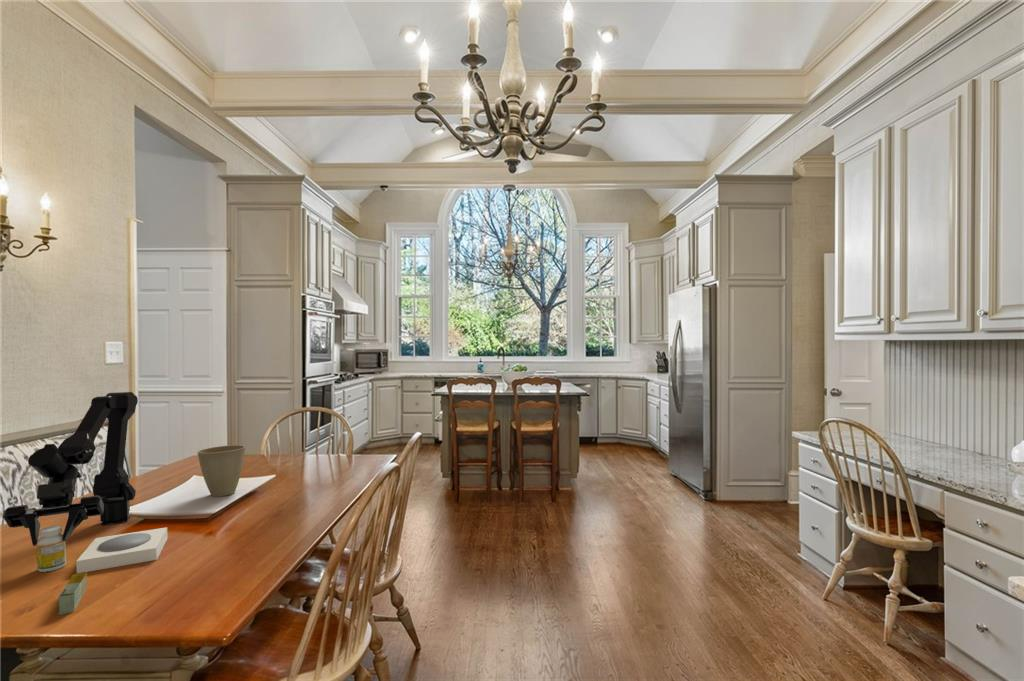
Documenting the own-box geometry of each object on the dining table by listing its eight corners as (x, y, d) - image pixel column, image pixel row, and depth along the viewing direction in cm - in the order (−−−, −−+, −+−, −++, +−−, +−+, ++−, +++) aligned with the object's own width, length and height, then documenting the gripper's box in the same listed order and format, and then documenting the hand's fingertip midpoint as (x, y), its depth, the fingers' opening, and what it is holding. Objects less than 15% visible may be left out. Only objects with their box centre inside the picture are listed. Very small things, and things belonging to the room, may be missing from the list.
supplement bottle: (61, 569, 129) (59, 530, 128) (33, 574, 126) (31, 534, 126) (70, 561, 134) (68, 523, 133) (43, 565, 131) (41, 526, 131)
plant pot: (254, 491, 189) (252, 446, 189) (209, 502, 178) (207, 454, 178) (236, 485, 199) (234, 443, 199) (192, 495, 187) (190, 450, 187)
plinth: (167, 538, 147) (167, 525, 147) (156, 559, 133) (156, 546, 133) (96, 549, 141) (95, 536, 141) (76, 573, 126) (76, 559, 126)
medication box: (74, 613, 108) (74, 593, 108) (57, 616, 107) (57, 596, 107) (87, 589, 119) (87, 571, 119) (72, 591, 117) (71, 573, 117)
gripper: (4, 474, 129) (-14, 534, 119) (99, 464, 137) (90, 519, 128) (17, 498, 136) (2, 556, 126) (107, 486, 144) (99, 540, 135)
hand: (49, 542), depth 129 cm, fingers closed on supplement bottle, 5 cm apart
